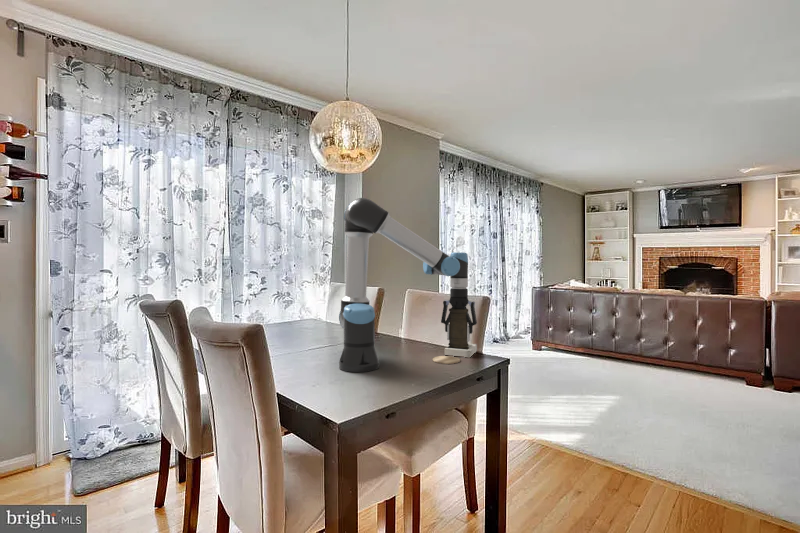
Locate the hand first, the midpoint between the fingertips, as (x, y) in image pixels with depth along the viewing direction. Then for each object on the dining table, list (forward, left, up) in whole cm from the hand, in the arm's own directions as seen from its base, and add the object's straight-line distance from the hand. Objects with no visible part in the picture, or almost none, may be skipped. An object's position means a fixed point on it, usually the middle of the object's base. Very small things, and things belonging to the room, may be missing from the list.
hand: (458, 340), depth 183 cm
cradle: (+1, 0, -6) cm, 6 cm away
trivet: (-1, -15, -6) cm, 16 cm away
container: (0, 0, -5) cm, 5 cm away
